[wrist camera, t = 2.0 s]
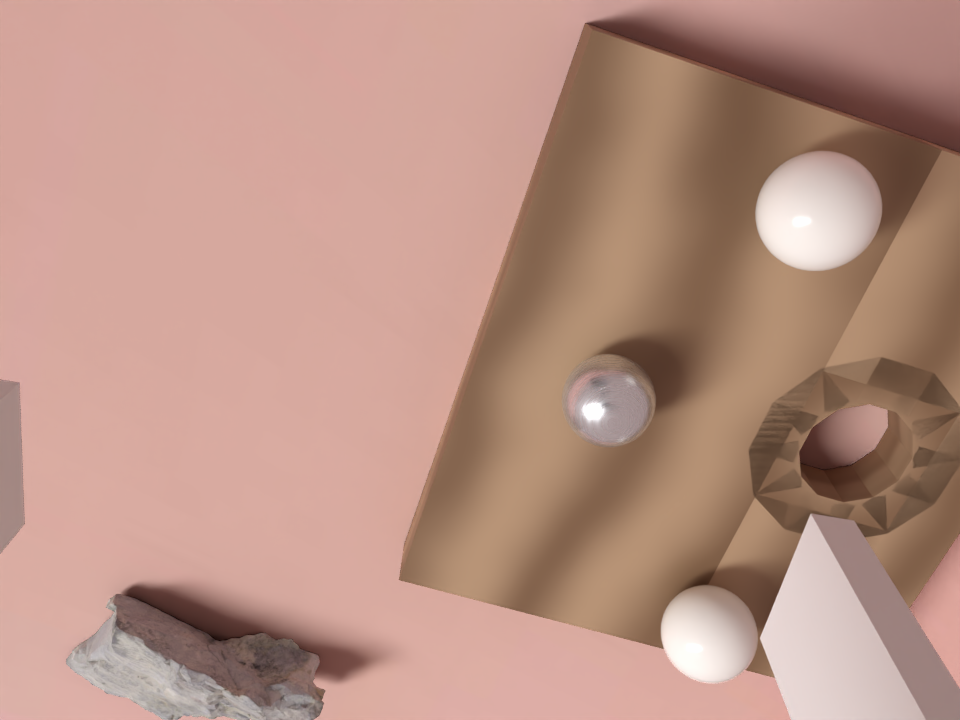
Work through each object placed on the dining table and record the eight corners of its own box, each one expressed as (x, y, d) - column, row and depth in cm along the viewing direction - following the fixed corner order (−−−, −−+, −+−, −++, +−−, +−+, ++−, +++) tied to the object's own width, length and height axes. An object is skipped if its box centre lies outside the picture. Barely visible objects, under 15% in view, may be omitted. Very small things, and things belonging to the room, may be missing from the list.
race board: (404, 545, 42) (399, 579, 40) (585, 22, 32) (592, 29, 30) (831, 658, 44) (849, 697, 42) (1120, 208, 35) (1164, 227, 32)
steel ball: (546, 404, 36) (551, 450, 33) (576, 328, 34) (585, 367, 31) (628, 428, 36) (641, 475, 33) (661, 353, 35) (679, 395, 32)
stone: (297, 732, 48) (284, 799, 44) (67, 667, 45) (31, 732, 42) (337, 644, 45) (326, 708, 41) (95, 571, 43) (60, 631, 39)
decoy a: (724, 231, 33) (753, 267, 29) (772, 124, 31) (809, 149, 27) (823, 262, 33) (864, 303, 29) (876, 160, 31) (926, 189, 28)
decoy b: (639, 624, 40) (654, 691, 37) (674, 556, 39) (693, 619, 35) (721, 645, 41) (743, 714, 37) (759, 578, 39) (786, 644, 36)
